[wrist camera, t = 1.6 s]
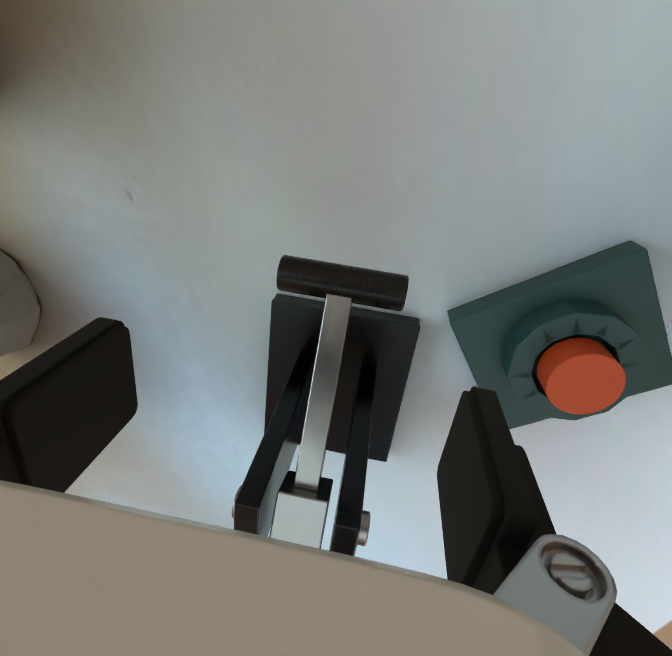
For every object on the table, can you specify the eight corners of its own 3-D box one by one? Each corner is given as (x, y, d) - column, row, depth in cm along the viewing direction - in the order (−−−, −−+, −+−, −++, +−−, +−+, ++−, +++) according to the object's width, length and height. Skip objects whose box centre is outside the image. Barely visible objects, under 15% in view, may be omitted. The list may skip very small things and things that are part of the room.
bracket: (276, 293, 26) (180, 428, 15) (419, 318, 25) (433, 479, 14) (268, 427, 31) (191, 603, 20) (386, 450, 30) (377, 646, 19)
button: (601, 326, 21) (617, 343, 19) (617, 382, 22) (633, 402, 20) (527, 351, 22) (537, 368, 20) (546, 402, 23) (557, 423, 22)
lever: (288, 258, 19) (277, 250, 17) (405, 278, 19) (411, 273, 17) (245, 518, 20) (228, 546, 18) (357, 542, 20) (355, 575, 17)
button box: (630, 239, 22) (668, 260, 19) (661, 367, 25) (698, 403, 21) (446, 310, 25) (452, 337, 22) (493, 415, 28) (504, 453, 25)
